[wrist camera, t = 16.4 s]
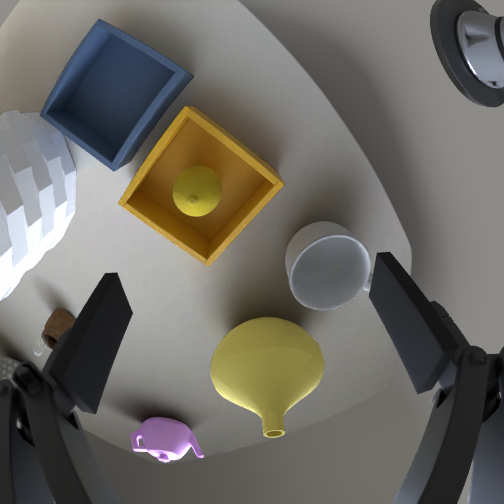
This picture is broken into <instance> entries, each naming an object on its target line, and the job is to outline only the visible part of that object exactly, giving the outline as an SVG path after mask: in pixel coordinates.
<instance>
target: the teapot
mask: <svg viewBox="0 0 504 504" xmlns="http://www.w3.org/2000/svg"><path fill="white" fill-rule="evenodd" d="M130 437H131V442H132V447H133V450H134V451H148V452H149V453H150V454H151V455H153V456H155V457H158V460H160V461H163V462H169V460H177V459H180V458H181V457H182V456H183V455H184V454H185V453H186V452H187V451H188V449H189V448H190V446H191V447H192V448H193V450H194V452H195V453H196V455H197V457H203V454H202V451H201V449H200V447H199V445H198V442H197V440H196V438H195V435H194V434H193V433H192V431H191V430H190V429H189V428H188V426H187V425H185V424H184V423H182V422H180V421H177V420H174V419H170V418H164V417H152V418H149V419H147V420H146V421H144V422H143V423H142V424H141V428H140V429H139V430H137V431H135V432H133V433H131V434H130ZM140 438H142V440H143V443H144V445H143V446H139V443H138V439H140Z"/></svg>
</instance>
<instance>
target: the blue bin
mask: <svg viewBox="0 0 504 504" xmlns="http://www.w3.org/2000/svg"><path fill="white" fill-rule="evenodd" d="M193 77H194V76H193V75H192V74H191V73H189V72H188V71H186V70H185V69H183V68H182V67H180V66H179V65H178V64H176V63H174V62H173V61H171V60H170V59H168V58H167V57H165V56H164V55H162V54H161V53H159V52H157V51H156V50H154V49H152V48H151V47H149V46H148V45H146V44H144V43H143V42H141V41H139V40H137V39H136V38H134V37H132V36H130V35H129V34H127V33H125V32H123V31H121V30H120V29H118V28H116V27H114V26H112V25H110V24H108V23H106V22H104V21H103V20H101V19H98V21H97V22H96V23H95V24H94V26H93V27H92V28H91V30H90V31H89V32H88V34H87V35H86V36H85V38H84V39H83V41H82V42H81V44H80V45H79V47H78V48H77V49H76V51H75V52H74V54H73V56H72V57H71V59H70V60H69V62H68V63H67V65H66V67H65V68H64V70H63V72H62V73H61V75H60V77H59V79H58V80H57V82H56V84H55V86H54V88H53V90H52V91H51V93H50V95H49V97H48V99H47V101H46V103H45V105H44V107H43V109H42V112H41V114H40V116H41V117H42V118H43V119H44V120H46V121H47V122H48V123H50V124H51V125H52V126H54V127H55V128H56V129H58V130H59V131H60V132H62V133H63V134H64V135H65V136H67V137H68V138H69V139H71V140H72V141H73V142H75V143H76V144H77V145H79V146H80V147H81V148H83V149H84V150H85V151H87V152H88V153H89V154H91V155H92V156H93V157H95V158H96V159H98V160H99V161H100V162H102V163H103V164H104V165H106V166H107V167H108V168H110V169H111V170H112V171H116V170H117V169H119V168H121V167H122V166H124V165H126V164H127V163H129V162H131V160H132V159H133V157H134V156H135V154H136V153H137V151H138V150H139V148H140V147H141V145H142V144H143V142H144V141H145V139H146V138H147V136H148V135H149V134H150V132H151V131H152V129H153V128H154V127H155V125H156V124H157V122H158V121H159V120H160V118H161V117H162V116H163V114H164V113H165V112H166V110H167V109H168V108H169V106H170V105H171V104H172V103H173V101H174V100H175V99H176V98H177V96H178V95H179V94H180V93H181V91H182V90H183V89H184V88H185V87H186V85H187V84H188V83H189V82H190V81H191V80H192V78H193Z"/></svg>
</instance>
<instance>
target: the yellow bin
mask: <svg viewBox="0 0 504 504" xmlns="http://www.w3.org/2000/svg"><path fill="white" fill-rule="evenodd" d="M195 165H203V166H207V167H209V168H211V169H212V170H214V171H215V172H216V173H217V174H218V176H219V178H220V180H221V183H222V196H221V199H220V201H219V203H218V204H217V206H216V207H215V208H214V209H213V210H212V211H211V212H209V213H207V214H205V215H202V216H190V215H187V214H185V213H183V212H182V211H181V210H180V209H179V208H178V207H177V206H176V204H175V201H174V198H173V186H174V183H175V180H176V178H177V177H178V176H179V174H180V173H181V172H182V171H184V170H185V169H186V168H189V167H191V166H195ZM284 185H285V184H284V182H283V181H282V179H281V177H280V176H279V174H278V172H276V171H275V170H274V169H273V168H272V167H271V166H269V165H268V164H267V163H266V162H265V161H264V160H262V159H261V158H260V157H259V156H258V155H256V154H255V153H254V152H253V151H251V150H250V149H249V148H248V147H247V146H245V145H244V144H243V143H242V142H240V141H239V140H238V139H237V138H235V137H234V136H233V135H232V134H230V133H229V132H228V131H226V130H225V129H224V128H223V127H221V126H220V125H219V124H217V123H216V122H215V121H213V120H212V119H211V118H210V117H208V116H207V115H206V114H204V113H203V112H202V111H200V110H199V109H197V108H196V107H195V106H185V107H184V108H183V109H182V110H181V112H180V113H179V114H178V115H177V117H176V118H175V119H174V121H173V122H172V123H171V125H170V126H169V127H168V129H167V130H166V131H165V133H164V134H163V135H162V137H161V138H160V139H159V141H158V142H157V144H156V145H155V146H154V148H153V149H152V151H151V152H150V154H149V155H148V157H147V158H146V159H145V161H144V162H143V164H142V165H141V167H140V168H139V170H138V172H137V173H136V175H135V176H134V178H133V179H132V181H131V183H130V184H129V186H128V187H127V189H126V191H125V192H124V194H123V196H122V197H121V199H120V201H119V202H118V204H119V205H121V206H122V207H124V208H125V209H126V210H128V211H129V212H130V213H132V214H133V215H134V216H136V217H137V218H139V219H140V220H141V221H143V222H144V223H146V224H147V225H148V226H150V227H151V228H153V229H154V230H155V231H157V232H158V233H160V234H161V235H163V236H164V237H165V238H167V239H168V240H170V241H171V242H173V243H174V244H175V245H177V246H178V247H180V248H181V249H183V250H184V251H186V252H187V253H189V254H190V255H191V256H193V257H194V258H196V259H197V260H199V261H200V262H202V263H204V264H205V265H206V266H208V267H209V266H210V265H211V264H212V263H213V262H214V261H215V260H216V259H217V257H218V256H219V255H220V254H221V253H222V252H223V251H224V250H225V249H226V247H227V246H228V245H229V244H230V243H231V242H232V241H233V240H234V239H235V238H236V237H237V235H238V234H239V233H240V232H241V231H242V230H243V229H244V228H245V227H246V226H247V225H248V223H249V222H250V221H251V220H252V219H253V218H254V217H255V216H256V215H257V214H258V213H259V212H260V210H261V209H262V208H263V207H264V206H265V205H266V204H267V203H268V202H269V201H270V200H271V199H272V198H273V197H274V195H275V194H276V193H277V192H278V191H279V190H280V189H281V188H282V187H283V186H284Z"/></svg>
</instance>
